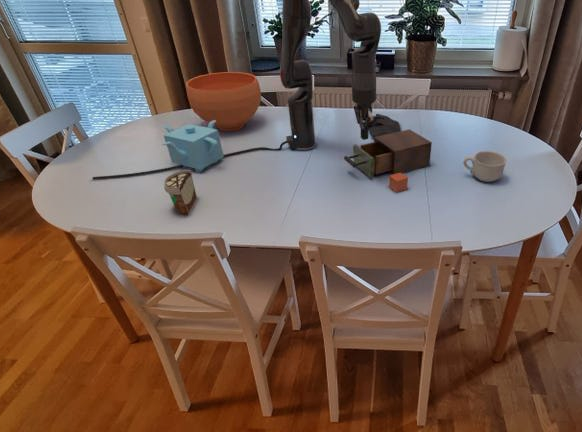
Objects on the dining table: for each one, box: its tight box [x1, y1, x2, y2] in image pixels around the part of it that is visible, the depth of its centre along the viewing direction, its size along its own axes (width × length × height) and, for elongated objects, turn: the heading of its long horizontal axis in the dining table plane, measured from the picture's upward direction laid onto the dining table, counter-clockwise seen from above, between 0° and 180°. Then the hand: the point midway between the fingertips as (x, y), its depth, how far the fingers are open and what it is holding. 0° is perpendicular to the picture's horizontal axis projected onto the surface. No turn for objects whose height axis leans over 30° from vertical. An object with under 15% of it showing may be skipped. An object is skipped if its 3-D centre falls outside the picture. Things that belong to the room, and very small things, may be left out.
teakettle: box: [161, 120, 225, 173], centre depth 143 cm, size 19×19×15 cm
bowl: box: [185, 71, 262, 132], centre depth 173 cm, size 30×30×20 cm
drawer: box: [343, 141, 393, 179], centre depth 141 cm, size 20×13×7 cm, turn 119°
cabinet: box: [373, 129, 433, 175], centre depth 145 cm, size 16×14×9 cm
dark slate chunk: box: [368, 113, 402, 138], centre depth 172 cm, size 15×22×5 cm
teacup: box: [462, 150, 507, 183], centre depth 136 cm, size 14×11×8 cm
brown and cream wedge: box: [163, 169, 198, 216], centre depth 120 cm, size 12×6×10 cm, turn 5°
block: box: [388, 172, 409, 193], centre depth 131 cm, size 4×4×4 cm
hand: (364, 138), depth 130 cm, fingers closed
